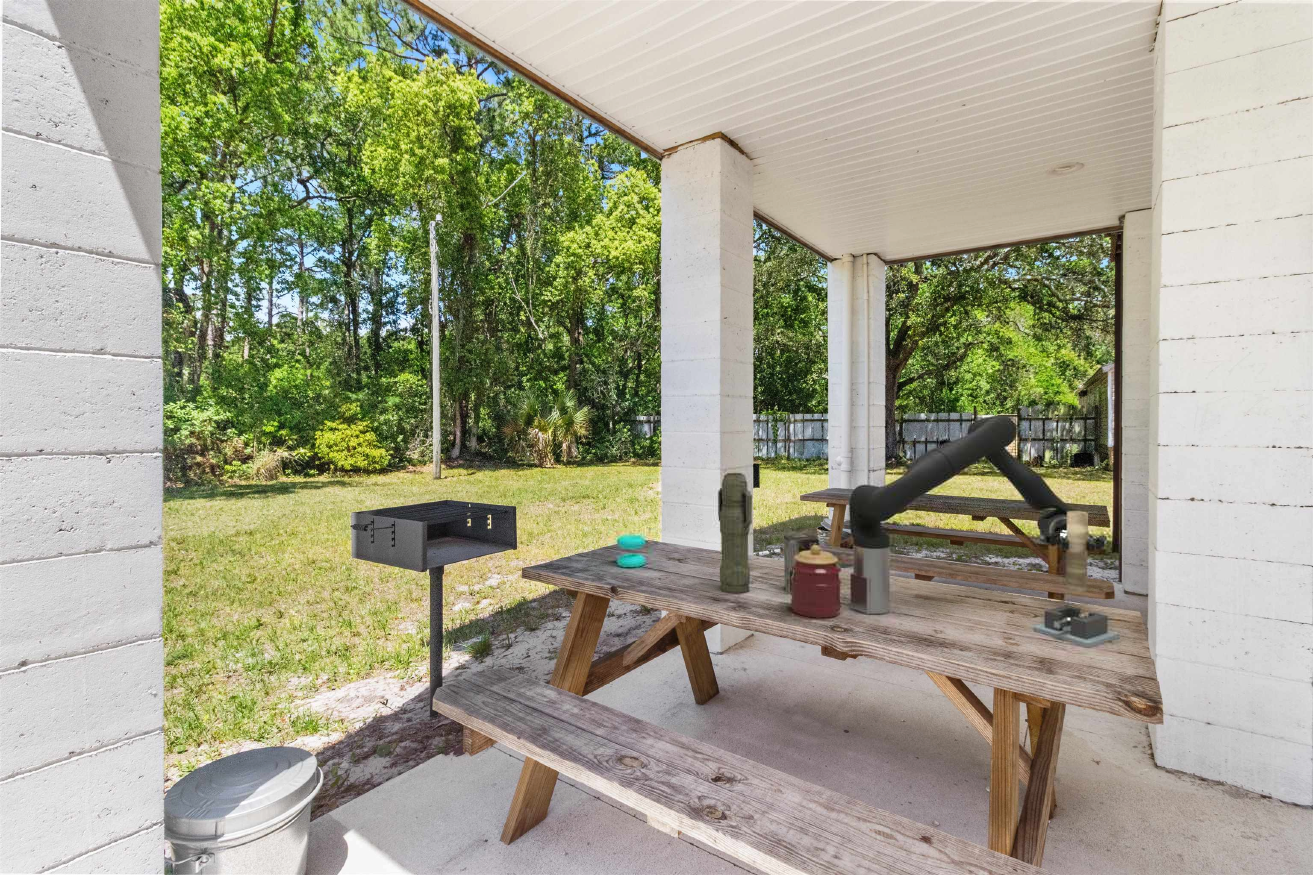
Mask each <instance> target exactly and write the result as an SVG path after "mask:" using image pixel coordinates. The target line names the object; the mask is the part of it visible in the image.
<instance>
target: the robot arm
mask: <svg viewBox="0 0 1313 875" xmlns="http://www.w3.org/2000/svg"><path fill="white" fill-rule="evenodd" d="M1017 427H1018V426H1017V424H1016V423H1015V422H1014V420H1013V419H1011V418H1010V417H1007V416H1004V415H992V416H989V417H985V418H980V419H978V420H975V421H973V422H971V423H970V424H969V426H968V427H967V433H966V434H967V435H964V436H962V437H960V438H957V439H954V440H951V441H948V442H945V443H943V444H941V445H939V446H936V447H933V448H932V449H930V450H928V451H926V452H925V453H923V454H922V455H919V456H918V457H917V458H916V459H914V460H913V461H912V462H911V464H910V465H909V466H908V468H907V470H906V471H905V473H904V474H903V475H902V476H900V477H899V478H897V479H895V480H894V481H891V482H890V483H888V484H885V485H882V486H877V485H871V484H861V485H858V486H857V487H855V488H854V490H853V491H852V492H851V495H850V498H849V504H848V505H849V508H848V509H849V528H850V534H851V537H852V540H853V541H852V542H853V552H852V553H853V554H852V556H853V558H852V559H853V560H852V564H853V565H852V567H853V568H852V570H853V571H852V572H851V573H850V580H849V581H850V584H849V585H850V592H849V593H850V594H849V595H850V596H849V597H850V600H849V602H850V608H849V609H853V610H855V611H859V612H861V613H862V614H863V613H864V614H866V615H871V614H874V615H877V614H878V615H881V614H887V613H888V612H890V609H891V608H890V606H891V605H890V603H891V601H890V598H891V597H890V596H891V595H890V592H891V591H890V589H891V588H890V586H891V585H890V583H891V582H890V581H891V580H890V579H891V578H890V577H891V576H890V575H891V574H890V572H891V570H890V569H891V568H890V567H891V566H890V565H891V564H890V562H891V558H890V557H891V553H890V552H891V539H890V536H889V534H888V533H887V532H886V531H885V530H884V528H883V526H882V522H886V521H888V520H890V519H891V518H893V517H894V516H896V515H897V514H898V513H900V512H901V511H902V510H904V509H905V508H906V507H907V506H908V505H910V504H911V503H912V502H914V501H915V500H917V499H918V498H921V497H922V496H924V495H926V494H927V493H929V492H931V491H932V490H934V489H936V488H937V487H939V486H941V485H943V484H945V483H946V482H948V481H950V480H951V479H952V478H954V477H955V476H957V475H959V474H960V473H962V472H963V471H964V470H966V469H968V468H969V467H972V465H974V464H975V463H976V462H977V463H978V461H979V460H981V459H983V458H985V459H986V460H987V461H988V462H989V463H990V464H992V466H993V467H994V468H995V469H996V470H998V471H999V472H1000V473H1001V475H1003V477H1005V478H1006V479H1007V480H1008V482H1010V483H1011V484H1012V486H1013V487H1014V488H1015V489H1016V490H1017V493H1019V495H1020V496H1021V497H1022V499H1023V500H1024V501H1025V502H1026V504H1027V505H1028V506H1029V508H1031V509H1032V510H1034V511H1043V510H1047V509H1053V510H1051V511H1049V512H1047V513H1045V514H1043V515H1041V516H1040V517H1039V518H1038V520H1037V522H1036V526H1037V528H1038V530H1039V531H1040V532H1039V533H1040V536H1039V538H1040V540H1039V541H1040V542H1041V543H1043V544H1046V545H1048V546H1050V547H1056V546H1057V547H1059V548H1060V549H1062V550H1065V551H1066V550H1069V541H1068V539H1067V512H1068V511H1077V510H1076V509H1074V508H1073V507H1072V506H1070V505H1069V504H1068V503H1066V502H1065V501H1063V500H1062V499H1061V498H1060V497H1059V496H1058V495H1056V494H1055V492H1054V491H1053V490H1052V488H1050V486H1049V485H1048V484H1047V483H1046V481H1045V480H1044V479H1043V477H1042V476H1041V475H1040V474H1039V473H1038V472H1037V471H1036V470H1034V469H1032V467H1029V466H1028V465H1026V464H1025V463H1023V462H1022V461H1021V460H1019V459H1018V458H1016V457H1015V456H1014V455H1012V454H1011V453H1010V452H1009V450H1008V449H1007V447H1009V446H1010V445H1012V443H1013V442H1014V440H1015V439H1016V437H1017V434H1018V428H1017ZM1106 547H1107V535H1103V534H1101V535H1097V536H1096V537H1094V535H1092V534H1089V533H1088V541H1087V552H1089V553H1093V551H1096V550H1098V551H1102V550H1103V549H1105V548H1106Z"/></svg>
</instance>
